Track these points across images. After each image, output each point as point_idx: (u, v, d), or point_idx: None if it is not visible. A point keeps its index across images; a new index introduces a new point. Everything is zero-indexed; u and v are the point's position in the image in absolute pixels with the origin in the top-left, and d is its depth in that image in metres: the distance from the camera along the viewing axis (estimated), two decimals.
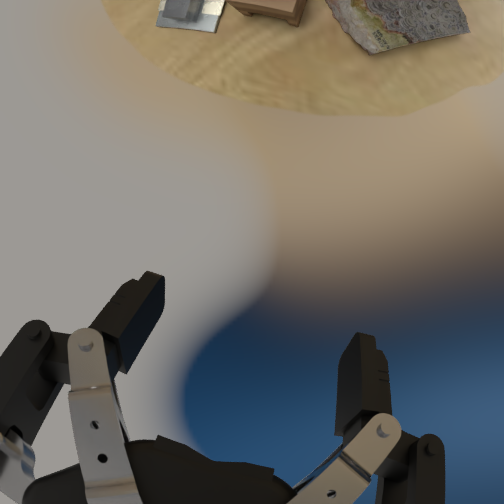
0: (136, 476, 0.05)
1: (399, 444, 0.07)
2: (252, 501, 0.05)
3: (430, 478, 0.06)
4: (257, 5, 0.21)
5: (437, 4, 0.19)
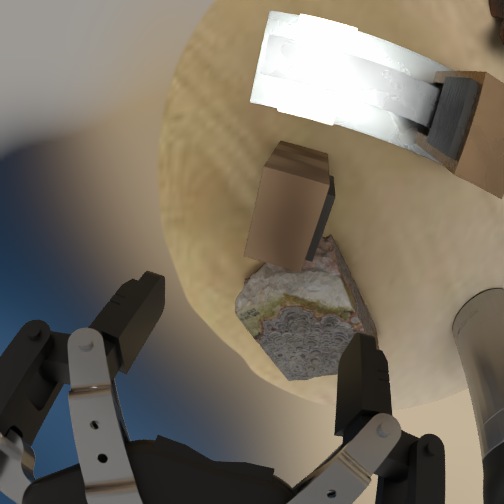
0: (136, 476, 0.05)
1: (399, 444, 0.07)
2: (252, 501, 0.05)
3: (430, 478, 0.06)
4: None
5: (309, 362, 0.31)
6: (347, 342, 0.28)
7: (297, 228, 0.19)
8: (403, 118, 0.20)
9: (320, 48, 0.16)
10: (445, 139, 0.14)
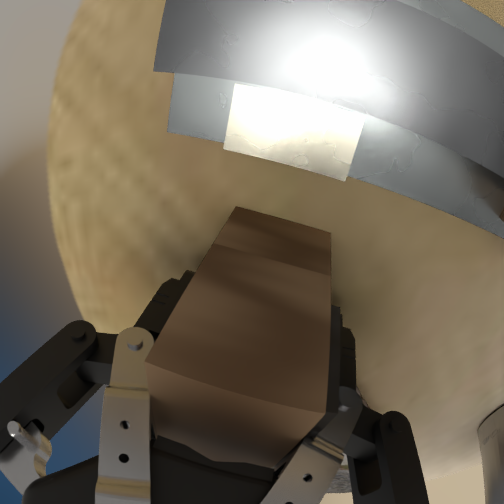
0: (153, 482, 0.05)
1: (362, 420, 0.08)
2: (252, 501, 0.05)
3: (401, 456, 0.07)
4: None
5: None
6: (347, 479, 0.16)
7: (247, 449, 0.08)
8: (488, 168, 0.09)
9: None
10: None
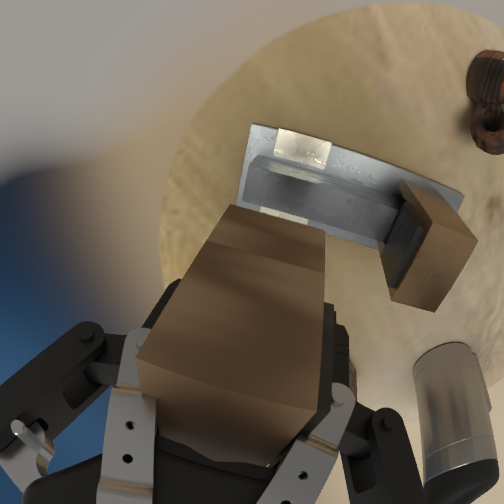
0: (156, 483, 0.05)
1: (355, 416, 0.08)
2: (252, 501, 0.05)
3: (396, 453, 0.07)
4: None
5: None
6: None
7: (241, 447, 0.08)
8: None
9: (293, 180, 0.22)
10: (390, 269, 0.20)
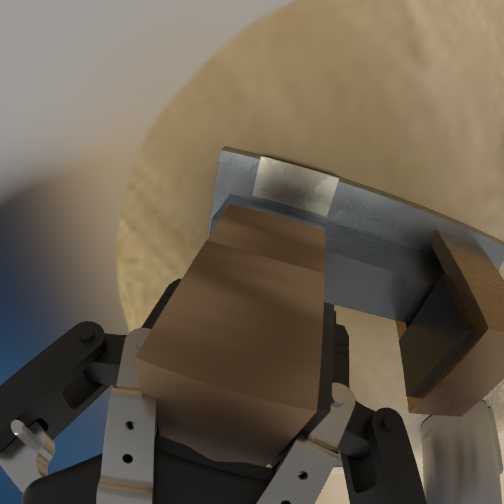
0: (156, 483, 0.05)
1: (355, 416, 0.08)
2: (252, 501, 0.05)
3: (396, 453, 0.07)
4: None
5: None
6: None
7: (241, 447, 0.08)
8: None
9: None
10: (413, 372, 0.13)
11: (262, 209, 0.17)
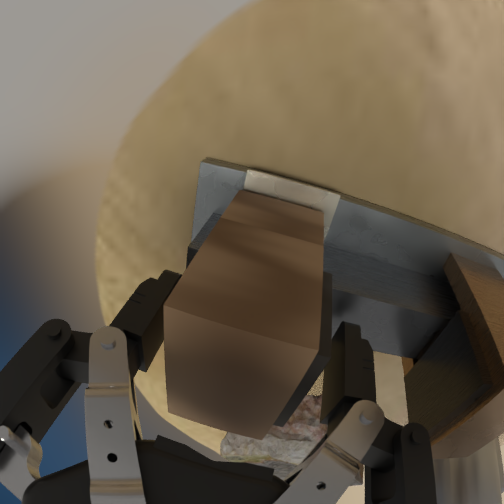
0: (144, 478, 0.05)
1: (383, 432, 0.08)
2: (252, 501, 0.05)
3: (418, 467, 0.06)
4: None
5: None
6: None
7: (251, 401, 0.09)
8: None
9: None
10: (418, 418, 0.11)
11: None
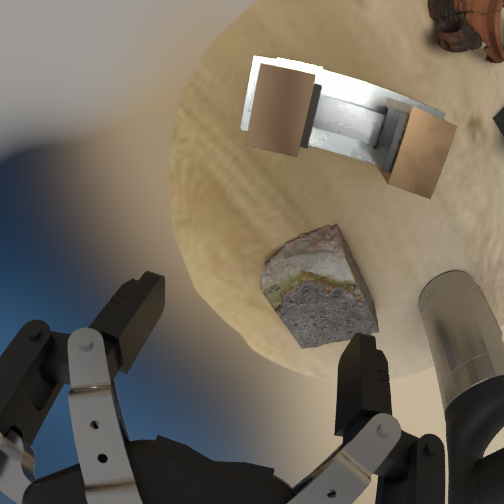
0: (136, 476, 0.05)
1: (399, 444, 0.07)
2: (252, 501, 0.05)
3: (430, 478, 0.06)
4: None
5: (319, 330, 0.37)
6: (351, 311, 0.35)
7: (291, 113, 0.20)
8: None
9: None
10: (383, 157, 0.22)
11: None
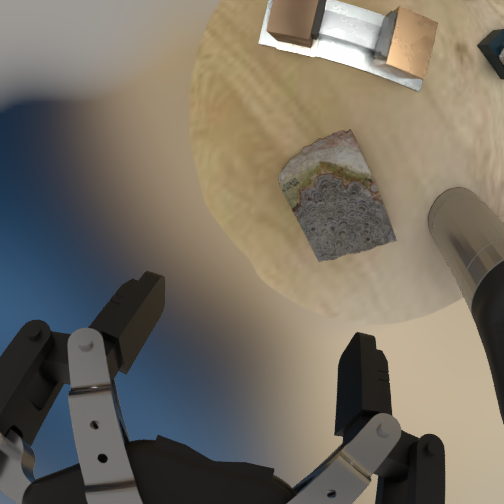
0: (136, 476, 0.05)
1: (399, 444, 0.07)
2: (252, 501, 0.05)
3: (430, 478, 0.06)
4: None
5: (337, 236, 0.37)
6: (369, 212, 0.35)
7: (304, 7, 0.21)
8: (362, 51, 0.28)
9: None
10: (380, 47, 0.22)
11: None
